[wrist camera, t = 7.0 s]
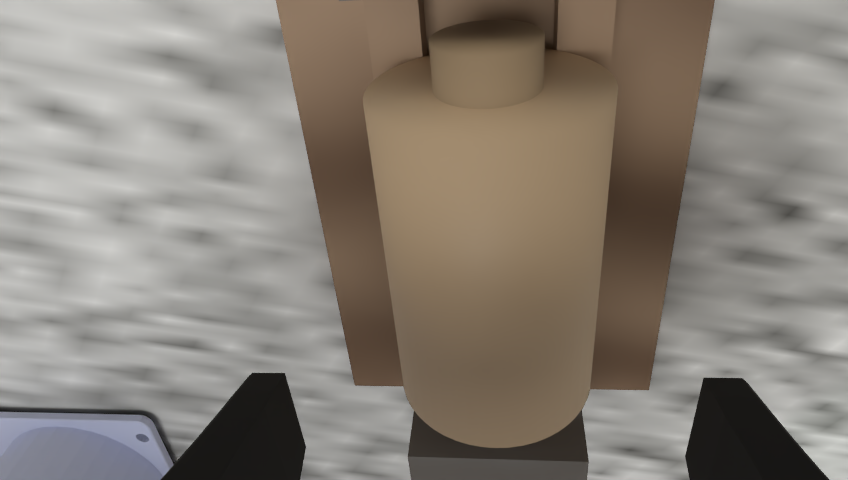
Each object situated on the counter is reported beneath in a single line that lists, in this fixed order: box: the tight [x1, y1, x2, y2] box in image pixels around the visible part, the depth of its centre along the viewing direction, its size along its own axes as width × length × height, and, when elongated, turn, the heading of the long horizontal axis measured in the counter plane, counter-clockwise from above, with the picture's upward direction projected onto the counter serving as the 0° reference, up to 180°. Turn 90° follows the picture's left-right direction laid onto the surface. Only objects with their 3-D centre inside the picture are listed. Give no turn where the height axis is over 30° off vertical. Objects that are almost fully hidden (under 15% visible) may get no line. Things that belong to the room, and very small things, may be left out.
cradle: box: [276, 0, 715, 480], centre depth 16 cm, size 16×10×5 cm, turn 4°
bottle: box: [363, 20, 618, 448], centre depth 15 cm, size 10×5×5 cm, turn 5°
